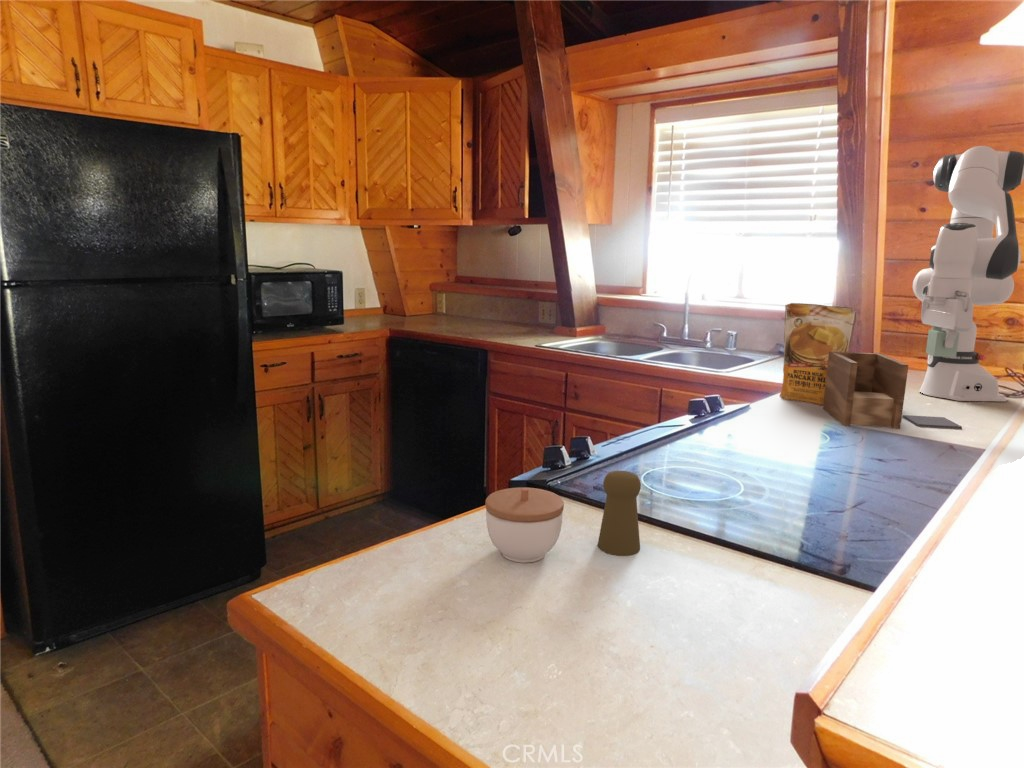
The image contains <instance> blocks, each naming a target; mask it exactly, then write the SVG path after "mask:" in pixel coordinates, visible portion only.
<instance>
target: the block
mask: <svg viewBox="0 0 1024 768" xmlns="http://www.w3.org/2000/svg"><path fill="white" fill-rule="evenodd" d="M927 334H928V335H927V339H926V340H927V342H926V347H925V348H926V349H925V354H926V355H928V354H929V355H932V356H940V357H956V354H957V347H958V340H959V333H958V335H957V337H956V339H955V340H954V344H953V347H952V348H946V347H943V340H945V338H946V335H947V333H946V331H939V330H931V329H928V332H927Z"/></svg>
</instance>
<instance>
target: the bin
mask: <svg viewBox="0 0 1024 768" xmlns="http://www.w3.org/2000/svg"><path fill="white" fill-rule="evenodd" d="M908 370H909V364H907V363H904V362H903V361H900V360H898V359H895V358H892V357H890V356H888V355H884V354H882V353H877V352H875V353H873V352H854V351H850V352H849V351H848V352H830V351H829V357H828V366H827V375H826V384H825V394H824V403H823V405H822V409H823V410H824V411H825V412H826V413H827V414H828V415H830V416H831V417H833V418H834V419H835V420H836V421H837V422H838V423H840V425H842V426H843V425H844V426H843V427H851V425H852V426H854V425H855V426H871V427H872V426H874V427H890V428H892V429H894V430H900V429H901V426H902V418H903V411H904V410H903V409H904V402H905V394H906V389H907V388H906V387H907V382H908V381H907V378H908V372H909V371H908Z"/></svg>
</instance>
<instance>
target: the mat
mask: <svg viewBox="0 0 1024 768" xmlns="http://www.w3.org/2000/svg"><path fill="white" fill-rule="evenodd" d="M902 418H903V419H905V420H907V421H908V422H910V423H911V424H913V425H915V426H916V427H920V428H921V427H922V428H937V429H956V430H957V429H958V430H962V429H963V426H962V425H959V424H958V423H956V422H954V421H952V420H951V419H948V418H946V417H943V416H931V415H930V416H929V415H928V416H927V415H906V414H902Z"/></svg>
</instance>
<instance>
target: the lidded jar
mask: <svg viewBox="0 0 1024 768" xmlns="http://www.w3.org/2000/svg"><path fill="white" fill-rule="evenodd" d="M484 503H485V511H486V512H485V514H486V515H485V516H486V519H485V521H486V526H487V527H486V528H487V532H488V536H489V539H490V540H491V543H492V544H493V546H494V547H495V548H496V549H497V550H498V551H499V552H500V553H501V556H502V557H503V558H505V559H506V560H507V561H511V562H514V563H520V564H521V563H522V564H523V563H524V564H527V563H534V562H538V561H540V560H542V559H544V558H545V556H546V554H547V553H549V552H550V551H551V550H552V549H553V547H554V546H555V545H556V544H557V542H558V540H559V537H560V533H561V530H562V525H563V515H564V514H563V512H564V508H565V507H564V505H565V503H564V500H563V498H562V497H561V496H559V495H558V494H556V493H555V492H552V491H549V490H546V489H542V488H534V487H524V486H523V487H510V488H504V489H503V488H502V489H500V490H496V491H494V492H492V493H490V494H489V495H488V496H487V498H486V499H485V502H484Z"/></svg>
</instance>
